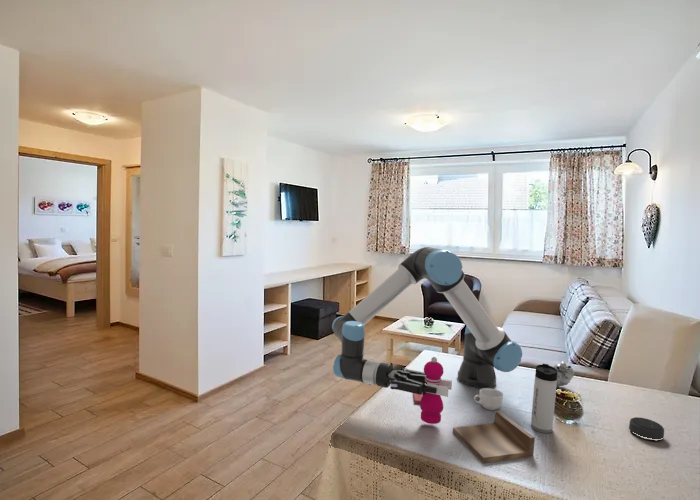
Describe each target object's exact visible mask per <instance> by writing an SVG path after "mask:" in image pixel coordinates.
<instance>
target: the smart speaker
mask: <svg viewBox="0 0 700 500" xmlns="http://www.w3.org/2000/svg"><path fill="white" fill-rule="evenodd" d="M628 429H630V430H631V431H632V432H634V433H636V434H638V435H640V436H643V437H647V438H652V439H661V438H663V437H664V438H665V428H664V427H663V425H662V424H660V423H658V422H656V421H654V420H652V419H650V418H649V419H648V418H646V417H645V418H644V417H639V416H638V417H637V416H636V417H632V418H630V420H629V424H628ZM630 430H629V431H630ZM631 431H630V432H631ZM632 432H631V433H632ZM664 438H663V439H664Z"/></svg>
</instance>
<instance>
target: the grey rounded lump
mask: <svg viewBox="0 0 700 500" xmlns="http://www.w3.org/2000/svg"><path fill="white" fill-rule="evenodd" d="M553 367H554V368H555V369H557V371H558V372H557V385H556V387H564V386H567V385H569V383H571V380H572V379H573V377H574V376H575V372H574V369H573V368H572V365H567V363H566V362H565V361H560V363H557V364H554V366H553Z"/></svg>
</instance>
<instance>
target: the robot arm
mask: <svg viewBox="0 0 700 500" xmlns="http://www.w3.org/2000/svg"><path fill="white" fill-rule="evenodd" d="M464 278H465V272H464V271H463V263H462V261H461V259H460V258H459V256H458V255H457V254H456V253H454V252H452V251H450V250H448V249H446V248H445V249H444V248H437V247H436V248H435V247H431V246H426V247H422V248H419V249H417V250H415V251H414V252H413V253H412V254H410V255H409V256H408V257H407V258H405V259H404V260H402V261H401V263H399V264H398V266H397V270H395V271H394V272H393V273H392V274H391V275H390V276H388V277H387V278H386V279H385V280H383V282H382V283H380V284H379V285H378V286H377V287H376V288H375V289H373V290H372V291H371V292H370V293H369V294H368V295H366V296H365V297H364V298H363V299H362V300H361V301H360V302H358V303H357V304H356V305H355V306H354V307H353V308H352V309H351V310H349V311H347V313H345V315H341V316H338V317H336V318H335V319H334V320H333V322H332V324H331V328H332V331H333V333H334V336H335V337H336V338H338V339H337V340H339V341H340V343H341V354H337V356H336V357H335V359H334V363H333V366H332V367H333V368H332V369H333V370H332V371H333V374H334V375H335V376H336V377H338V378H342V379H344V380H348V381H349V380H350V381H354V382H360V383H363V384H368V385H369V386H378V387H382V388H386V389H387V388H390V390H397V391H402V392H408V393H411V394H413V393H415V394H419V395H421V394H422V393H423V395H425V394H426V392H427V393H432V394H436V395H440V396H441V397H445V398H446V397H447V398H448V397H449V391H452V390H453V389H452V386H453V380H450V379H445V378H441V383H440V385H435V384H430V383H427V386H426V382H425V376H426V375H425V373H424V371H419V370H415V369H410V368H409V369H408V368H406V367H402V368H401V369H402V370H401V369H394V367H393V366H392V364H391V363H386V362H380V361H376V360H371V359H364V350H365V337H366V333H365V332H366V331H365V326H366V324H368V323H369V322H370V321H371V320H372V319H373V318H374V317H376V316H377V315H378V314H379V313H380V312H381V311H383V310H384V309H385V308H386V307H387V306H388V305H389V304H390V303H391V302H393V301H394V300H395V299H396V298H397V297H398V296H399V295H401V294H402V293H403V292H404V291H406V289H407V288H409V287H410V286H411V285H416V284H418V283H419V282H420V281H422V280H423V279H425V280H427V281H428V282H429V283H430V285H431V286H432V287H433V289H434V290H435V292H436V293H439V294H443V295H444V297H445V298H446V299H447V301H448V302H449V304H450V305H451V307H452V308H453V309H454V310H455V312H456V314H457V315H458V316H459V317H460V319H461V320H462V321H463V323H464V325H465V326H466V327H465V330H464V331H465V332H464V344H463V358H462V362H461V365H460V367H459V369H458V371H457V380H458V381H459V382H461V383H462V384H464V385H467V386H469V387H473V388H474V387H475V388H479V389H483V388H492V387H495V386H496V385H497V374H496V371H495V370H497V371H500V372H502V373H509V372H513V371H514V370H515V369H517V367H519V364H520V363H521V361H522V357H523V350H522V347H521V346H520V345H519V344H518V343H517V342H516V341H512V340H511V338H510V337H509V336H508V334H507V333H506V332H505V330H504V328H503V327H499V326H496V324H495V322H494V321H493V320H492V318H491V317H490V316H489V315H488V313H487V311H486V310H485V309H484V307H483V306H482V304H481V303H480V301H479V300H478V299H477V297H476V296H475V294H474V293H473V291H472V290H471V289H470V287H469V285H468V284H467V283H466V282H465V280H464Z"/></svg>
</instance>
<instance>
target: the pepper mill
mask: <svg viewBox="0 0 700 500" xmlns="http://www.w3.org/2000/svg"><path fill="white" fill-rule="evenodd" d="M423 372H424V373H425V375H426V376H425V382H426V386H427V383H430V384H435V385H440V383H441V379H442V377H443V375H444V367H443V365H442V364H441V362H438V358H437V357H436V356H433V357H431V359H430V361H428V362H426V363H425V364H424V366H423ZM419 408H420V410H421V412H420V419H421V420H422V422H424V423H426V424H430V425H437V424H439V423H441V421H442V414H441V413H442V412H443V410H444V402H443V399H442V396H441V395H436V394H432V393H427V392H426V394H425V395H423V396H422V398H421V401H420V404H419Z"/></svg>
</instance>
